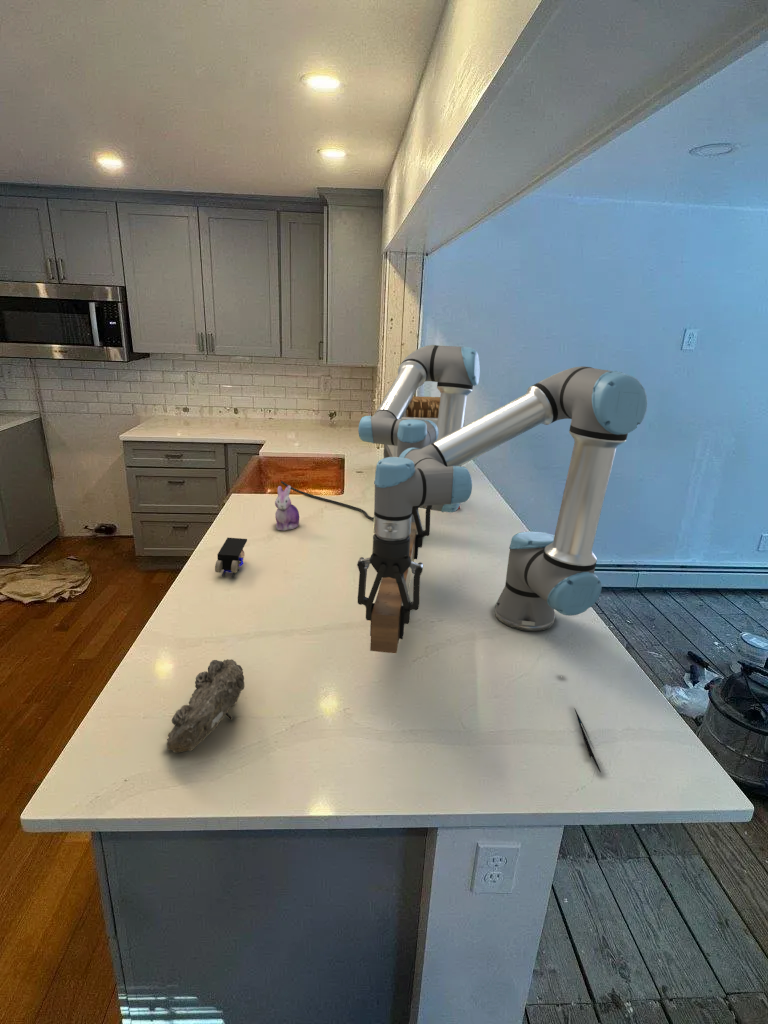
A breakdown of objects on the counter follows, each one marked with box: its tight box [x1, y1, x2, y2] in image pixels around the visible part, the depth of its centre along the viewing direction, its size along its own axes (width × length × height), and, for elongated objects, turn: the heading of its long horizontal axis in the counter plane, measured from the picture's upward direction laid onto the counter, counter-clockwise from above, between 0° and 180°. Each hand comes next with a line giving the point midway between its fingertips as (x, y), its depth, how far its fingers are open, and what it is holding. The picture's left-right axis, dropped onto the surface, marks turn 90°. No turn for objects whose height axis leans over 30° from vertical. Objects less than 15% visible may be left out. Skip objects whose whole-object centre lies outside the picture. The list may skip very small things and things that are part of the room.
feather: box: [561, 676, 602, 773], centre depth 111 cm, size 2×28×2 cm
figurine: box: [274, 484, 300, 531], centre depth 199 cm, size 9×10×15 cm
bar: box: [369, 522, 417, 655], centre depth 140 cm, size 54×6×9 cm, turn 173°
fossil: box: [166, 658, 245, 754], centre depth 106 cm, size 22×10×15 cm
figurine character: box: [214, 537, 248, 578], centre depth 166 cm, size 7×8×15 cm
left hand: (405, 556), depth 161 cm, fingers closed on bar, 5 cm apart
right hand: (387, 634), depth 122 cm, fingers closed on bar, 5 cm apart
